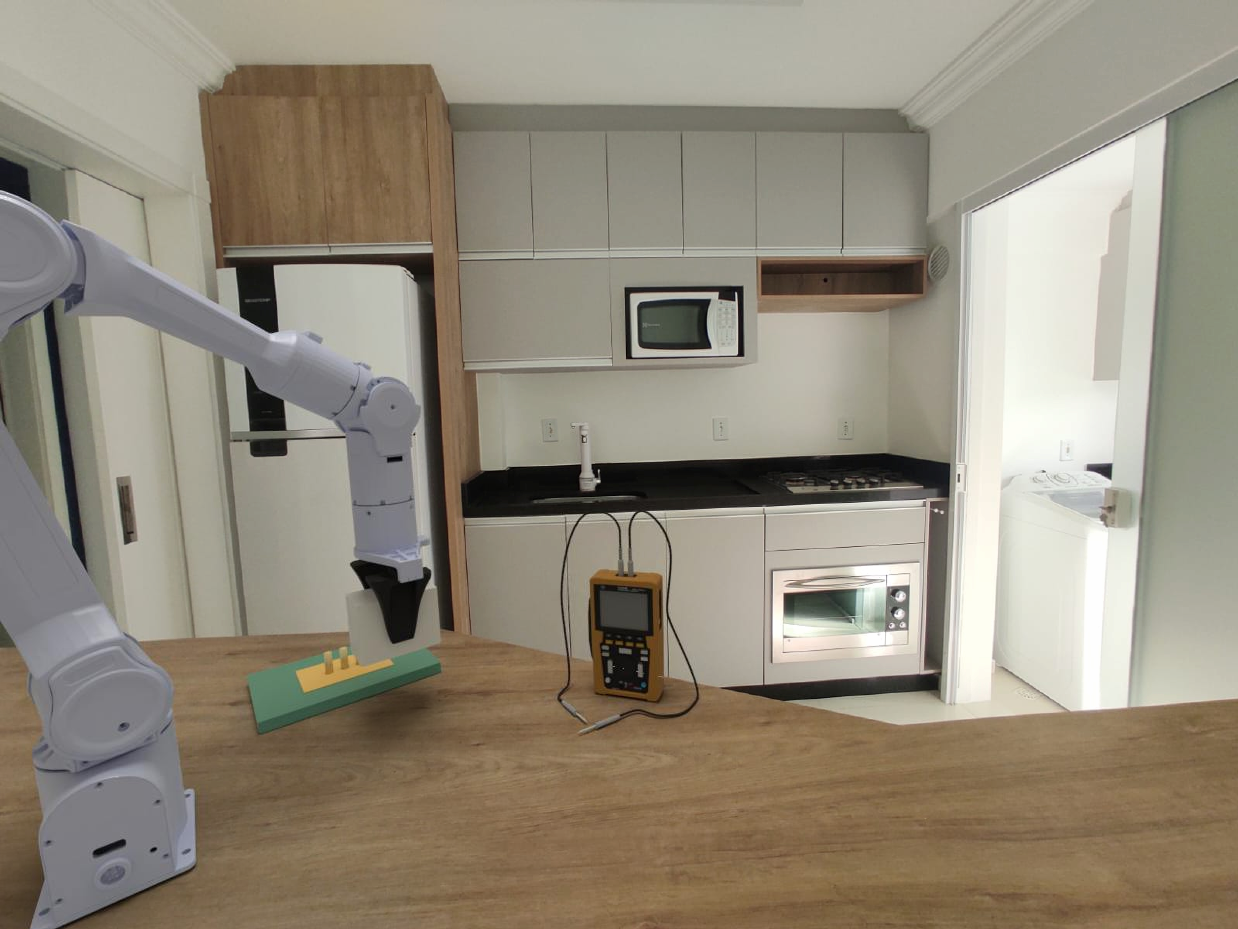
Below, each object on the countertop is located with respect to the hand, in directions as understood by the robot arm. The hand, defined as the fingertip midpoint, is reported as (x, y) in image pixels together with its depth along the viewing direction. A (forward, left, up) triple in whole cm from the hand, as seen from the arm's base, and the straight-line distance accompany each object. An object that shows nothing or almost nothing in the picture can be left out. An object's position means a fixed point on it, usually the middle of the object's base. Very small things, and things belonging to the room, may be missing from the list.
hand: (394, 632), depth 55 cm
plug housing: (0, 0, -2) cm, 2 cm away
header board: (+11, +3, -8) cm, 14 cm away
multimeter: (-15, -17, -9) cm, 24 cm away
